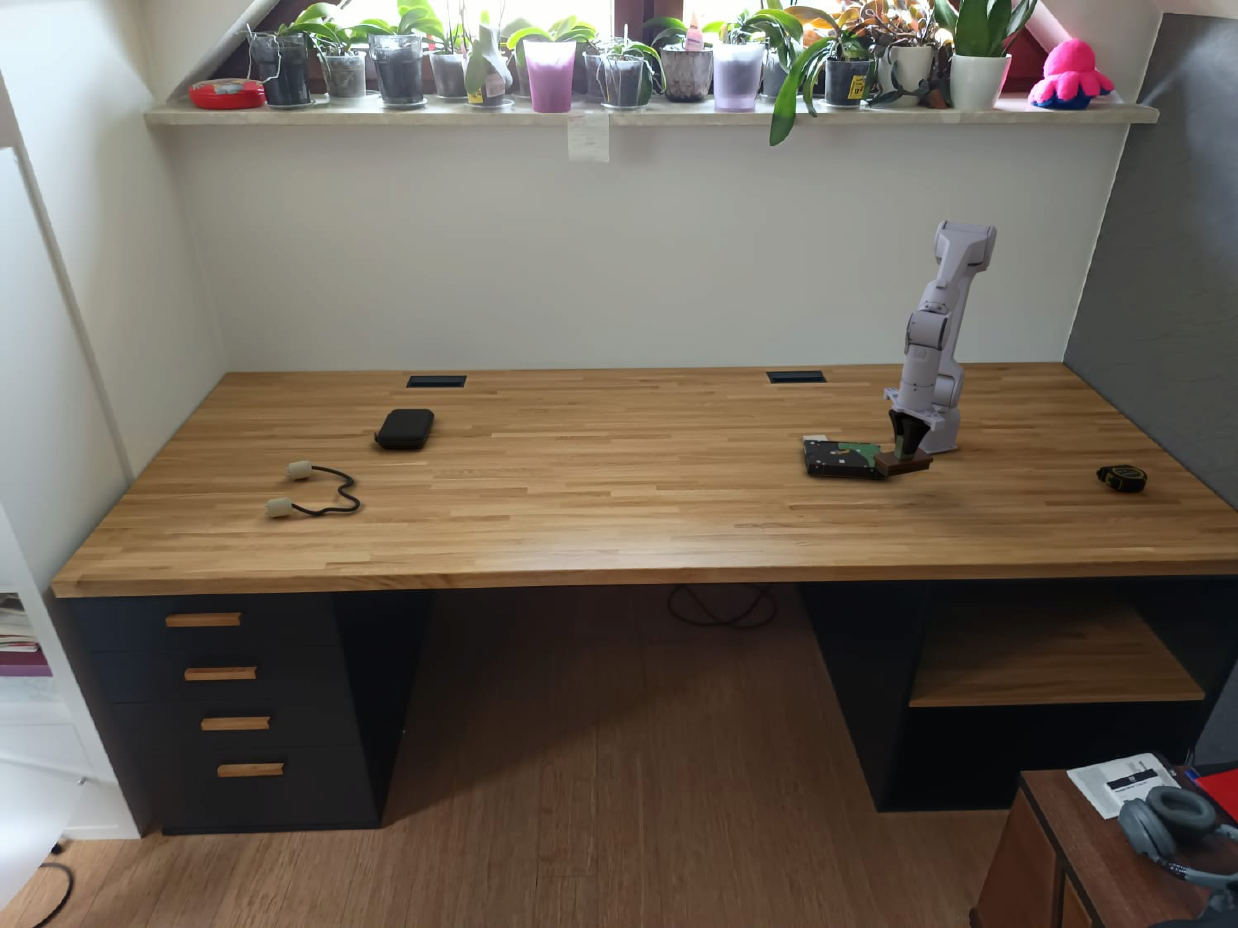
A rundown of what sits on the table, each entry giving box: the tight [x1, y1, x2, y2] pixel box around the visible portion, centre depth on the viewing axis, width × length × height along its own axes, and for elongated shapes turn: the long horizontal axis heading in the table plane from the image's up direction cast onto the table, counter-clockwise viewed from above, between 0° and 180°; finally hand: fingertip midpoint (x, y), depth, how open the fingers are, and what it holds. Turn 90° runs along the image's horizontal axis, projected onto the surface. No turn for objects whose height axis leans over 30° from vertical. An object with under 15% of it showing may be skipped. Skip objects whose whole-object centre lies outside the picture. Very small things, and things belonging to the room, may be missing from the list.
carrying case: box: [373, 408, 435, 449], centre depth 178 cm, size 11×3×15 cm
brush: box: [873, 434, 935, 478], centre depth 156 cm, size 10×5×6 cm, turn 110°
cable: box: [264, 459, 361, 518], centre depth 156 cm, size 16×16×4 cm
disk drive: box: [802, 440, 887, 480], centre depth 168 cm, size 10×3×15 cm
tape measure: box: [1095, 464, 1148, 494], centre depth 161 cm, size 7×7×4 cm
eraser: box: [802, 434, 829, 442], centre depth 176 cm, size 4×3×1 cm, turn 96°
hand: (905, 450), depth 156 cm, fingers closed on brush
